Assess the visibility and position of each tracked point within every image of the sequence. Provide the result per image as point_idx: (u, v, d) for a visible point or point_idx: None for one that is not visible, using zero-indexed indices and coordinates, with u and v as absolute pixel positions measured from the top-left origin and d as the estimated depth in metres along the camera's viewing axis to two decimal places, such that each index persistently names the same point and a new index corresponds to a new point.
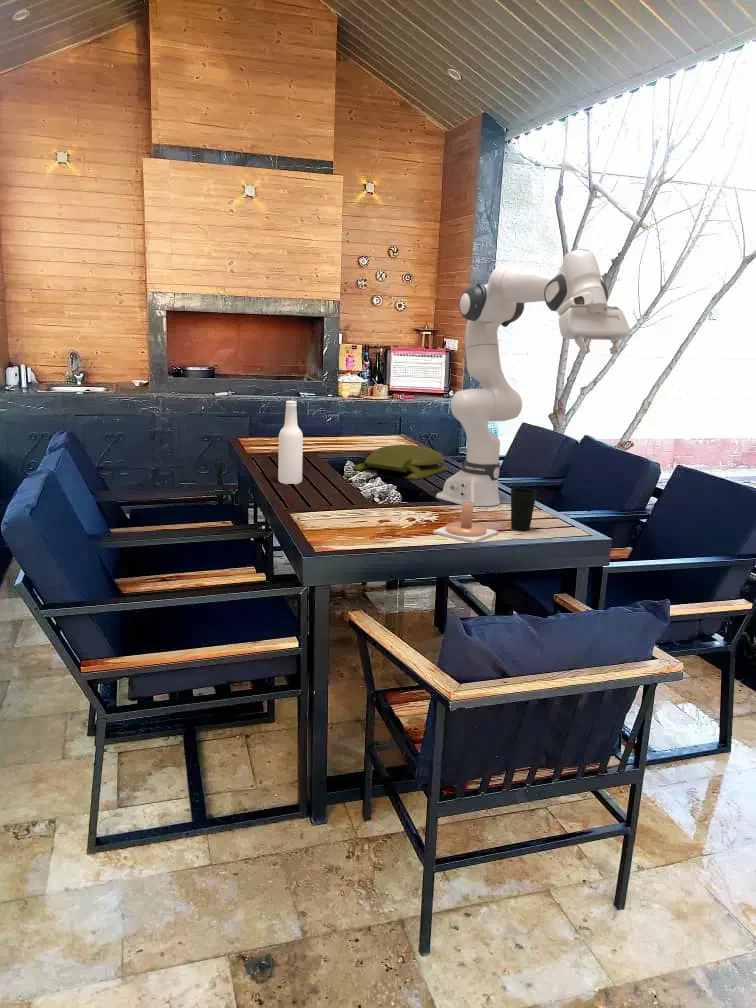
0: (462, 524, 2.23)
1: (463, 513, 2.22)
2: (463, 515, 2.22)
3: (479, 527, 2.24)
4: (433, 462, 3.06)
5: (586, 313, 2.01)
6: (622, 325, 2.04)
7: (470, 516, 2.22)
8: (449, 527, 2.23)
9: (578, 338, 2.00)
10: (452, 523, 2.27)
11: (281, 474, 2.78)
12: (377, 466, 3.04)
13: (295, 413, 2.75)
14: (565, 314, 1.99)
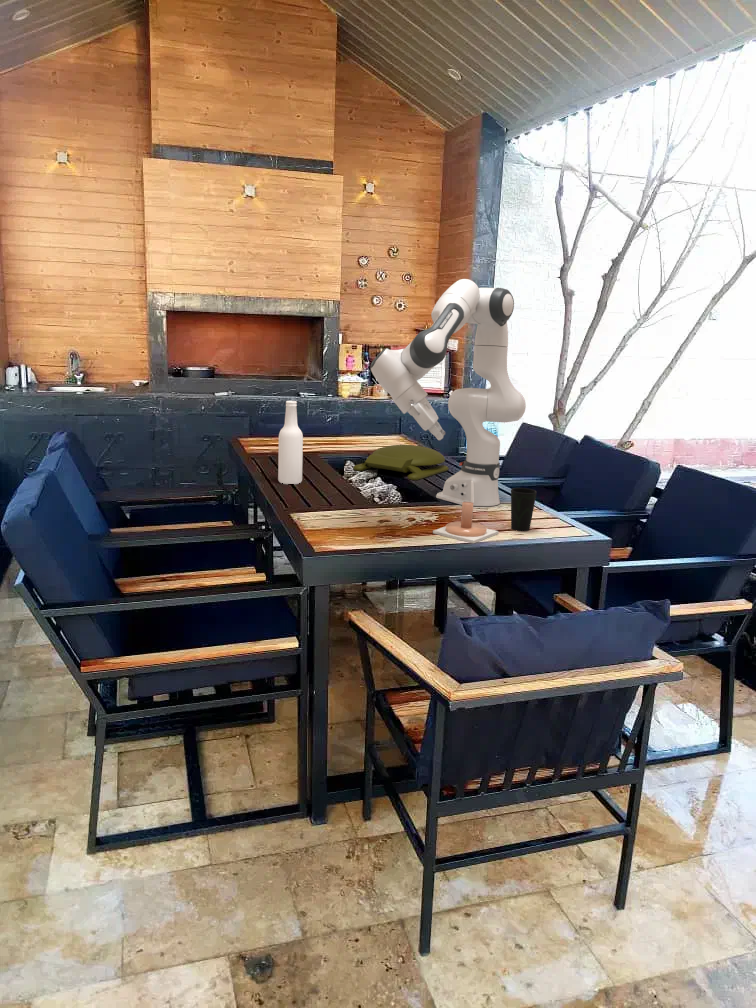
0: (462, 524, 2.23)
1: (463, 513, 2.22)
2: (463, 515, 2.22)
3: (479, 527, 2.24)
4: (433, 462, 3.06)
5: None
6: None
7: (470, 516, 2.22)
8: (449, 527, 2.23)
9: None
10: (452, 523, 2.27)
11: (281, 474, 2.78)
12: (377, 466, 3.04)
13: (295, 413, 2.75)
14: None
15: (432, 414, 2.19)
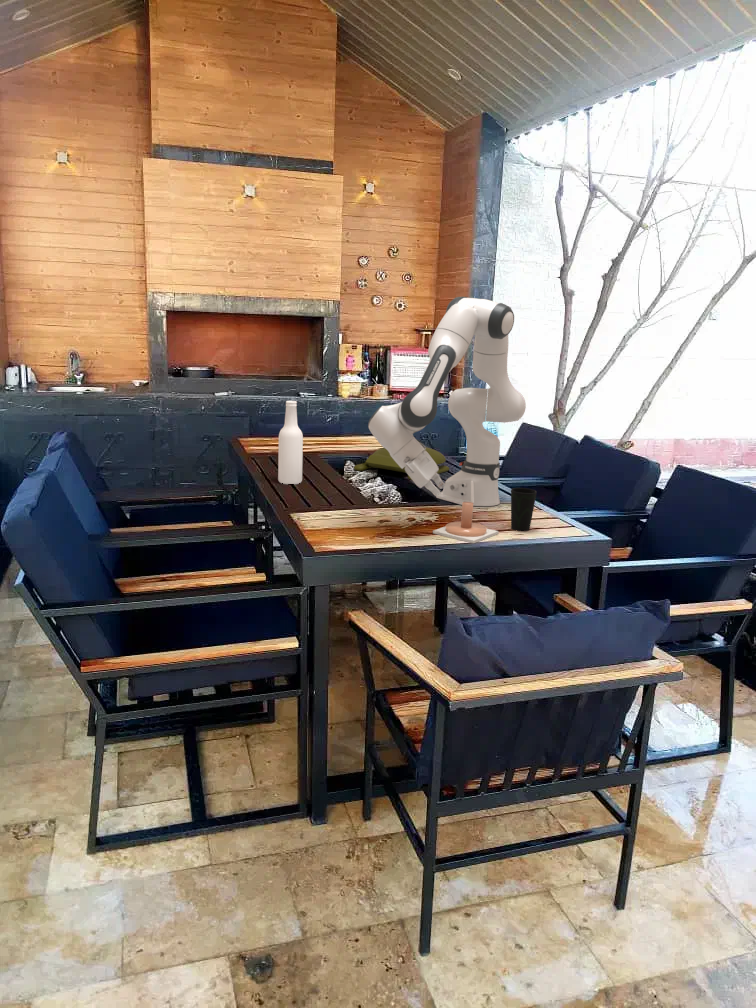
0: (462, 524, 2.23)
1: (463, 513, 2.22)
2: (463, 515, 2.22)
3: (479, 527, 2.24)
4: None
5: None
6: None
7: (470, 516, 2.22)
8: (449, 527, 2.23)
9: None
10: (452, 523, 2.27)
11: (281, 474, 2.78)
12: (378, 466, 3.04)
13: (295, 413, 2.75)
14: None
15: (430, 468, 2.23)
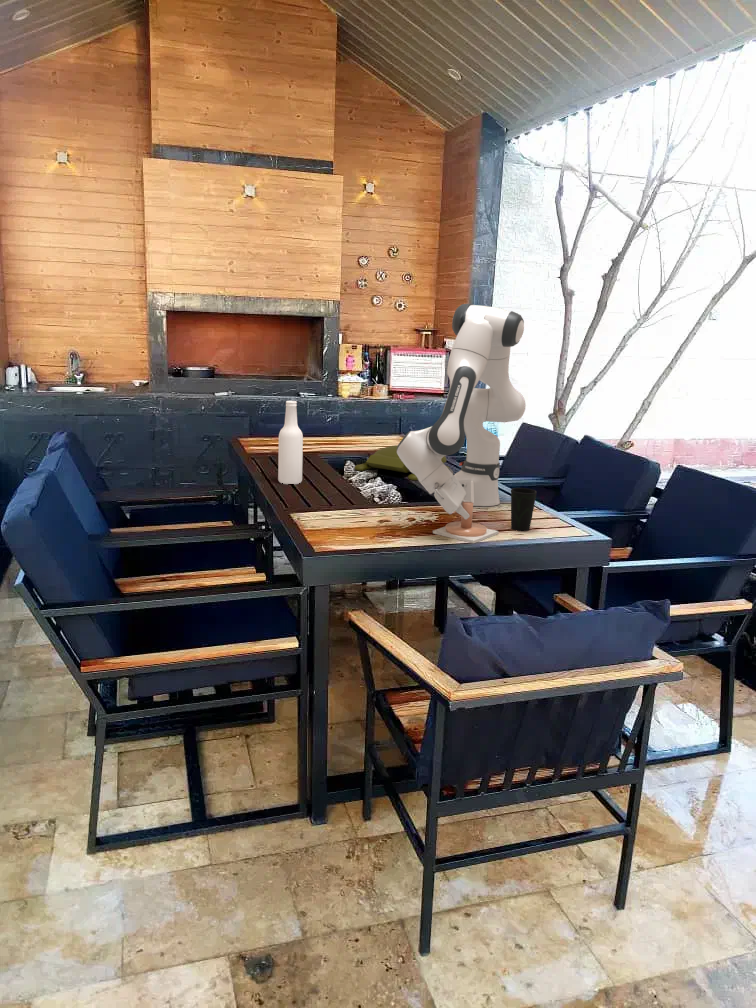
0: (462, 524, 2.23)
1: None
2: None
3: (479, 527, 2.24)
4: None
5: None
6: None
7: (470, 516, 2.22)
8: (449, 527, 2.23)
9: None
10: (452, 523, 2.27)
11: (281, 474, 2.78)
12: (378, 466, 3.04)
13: (295, 413, 2.75)
14: None
15: (458, 493, 2.23)
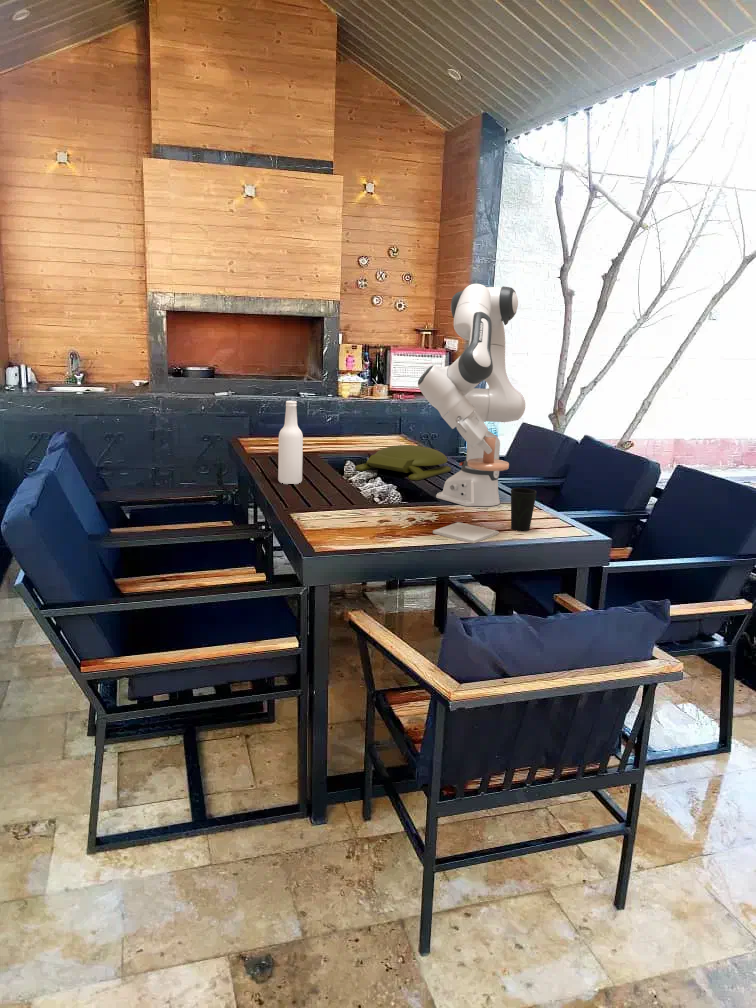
0: (484, 459, 2.21)
1: None
2: None
3: (501, 463, 2.22)
4: (435, 463, 3.05)
5: None
6: None
7: (492, 450, 2.20)
8: (471, 462, 2.21)
9: None
10: (474, 459, 2.25)
11: (281, 474, 2.78)
12: (379, 466, 3.04)
13: (295, 413, 2.75)
14: None
15: (480, 428, 2.21)
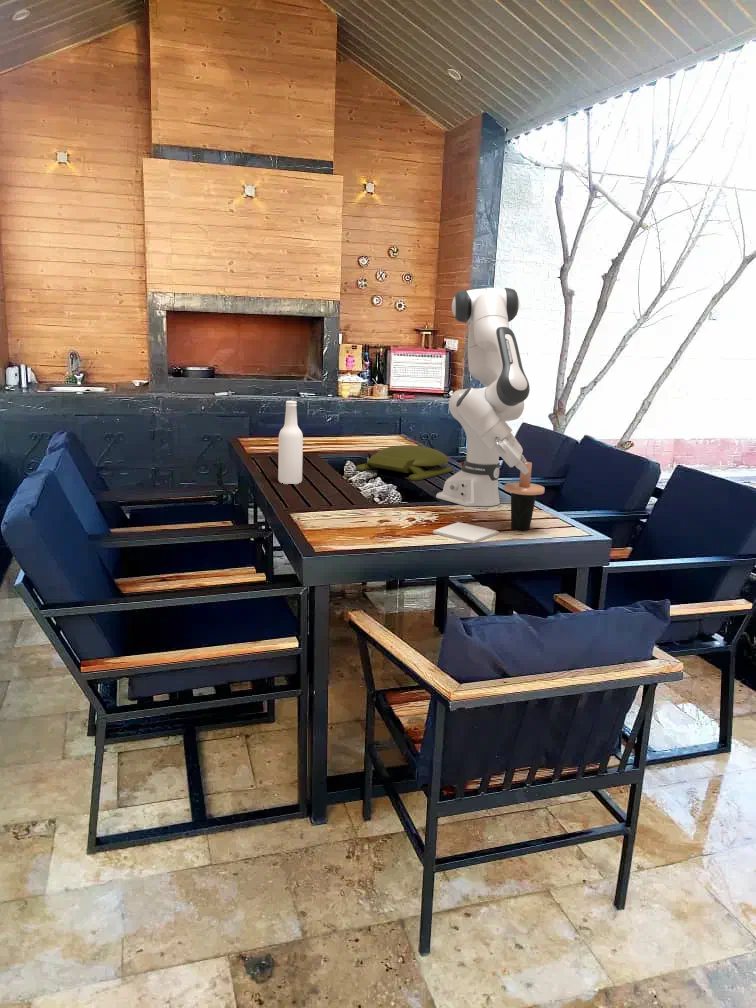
0: (521, 483, 2.28)
1: None
2: (522, 474, 2.27)
3: (537, 487, 2.29)
4: (436, 463, 3.04)
5: None
6: None
7: (528, 475, 2.27)
8: (508, 486, 2.28)
9: None
10: (510, 483, 2.32)
11: (281, 474, 2.78)
12: (379, 466, 3.04)
13: (295, 413, 2.75)
14: None
15: (517, 449, 2.28)
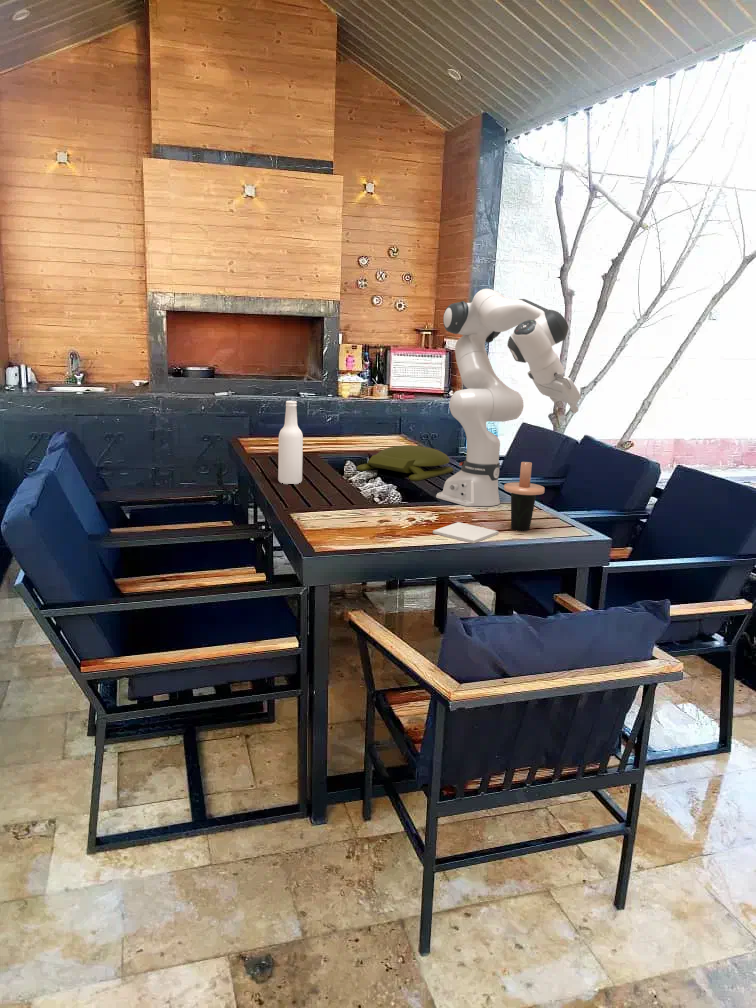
0: (521, 483, 2.28)
1: (522, 472, 2.27)
2: (522, 474, 2.27)
3: (537, 487, 2.29)
4: (436, 463, 3.04)
5: None
6: (565, 396, 2.22)
7: (528, 475, 2.27)
8: (508, 486, 2.28)
9: None
10: (510, 483, 2.32)
11: (281, 474, 2.78)
12: (380, 466, 3.04)
13: (295, 413, 2.75)
14: None
15: None
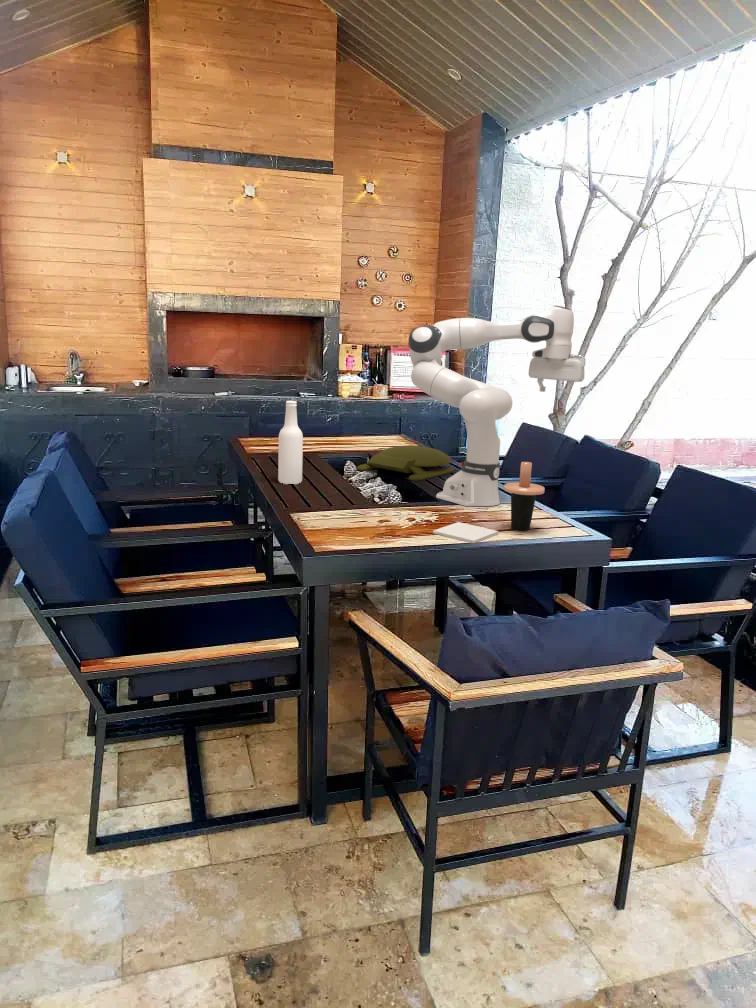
0: (521, 483, 2.28)
1: (522, 472, 2.27)
2: (522, 474, 2.27)
3: (537, 487, 2.29)
4: (437, 463, 3.03)
5: (546, 362, 2.71)
6: (574, 373, 2.65)
7: (528, 475, 2.27)
8: (508, 486, 2.28)
9: None
10: (510, 483, 2.32)
11: (281, 474, 2.78)
12: (380, 466, 3.04)
13: (295, 413, 2.75)
14: None
15: None
